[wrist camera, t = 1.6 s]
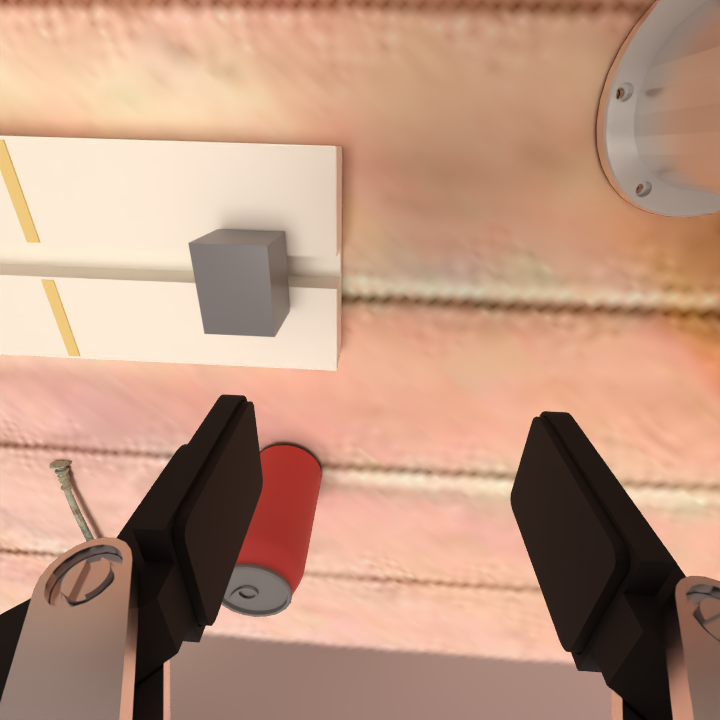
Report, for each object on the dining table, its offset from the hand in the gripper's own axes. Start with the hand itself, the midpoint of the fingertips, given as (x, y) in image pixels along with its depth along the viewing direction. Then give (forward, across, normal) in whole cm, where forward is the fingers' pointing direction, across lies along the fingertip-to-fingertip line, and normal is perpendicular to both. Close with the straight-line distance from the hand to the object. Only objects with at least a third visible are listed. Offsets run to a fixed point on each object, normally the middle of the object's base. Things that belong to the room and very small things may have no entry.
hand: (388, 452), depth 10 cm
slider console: (+20, +16, 0) cm, 25 cm away
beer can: (+20, +8, +20) cm, 29 cm away
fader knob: (+18, +8, 0) cm, 20 cm away
